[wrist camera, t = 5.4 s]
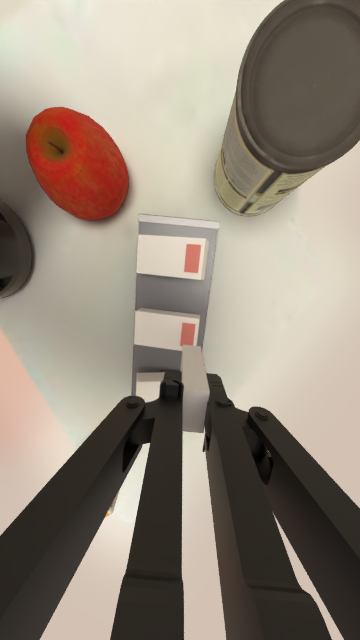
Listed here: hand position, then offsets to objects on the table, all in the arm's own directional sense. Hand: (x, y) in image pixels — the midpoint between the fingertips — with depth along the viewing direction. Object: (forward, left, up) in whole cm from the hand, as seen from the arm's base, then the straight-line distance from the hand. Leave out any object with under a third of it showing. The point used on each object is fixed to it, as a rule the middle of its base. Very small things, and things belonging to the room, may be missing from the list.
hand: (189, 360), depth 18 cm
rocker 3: (-3, 0, -11) cm, 11 cm away
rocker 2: (-3, +9, -11) cm, 14 cm away
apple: (-15, +18, -16) cm, 28 cm away
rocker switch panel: (-3, 0, -16) cm, 16 cm away
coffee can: (+6, +21, -16) cm, 27 cm away
